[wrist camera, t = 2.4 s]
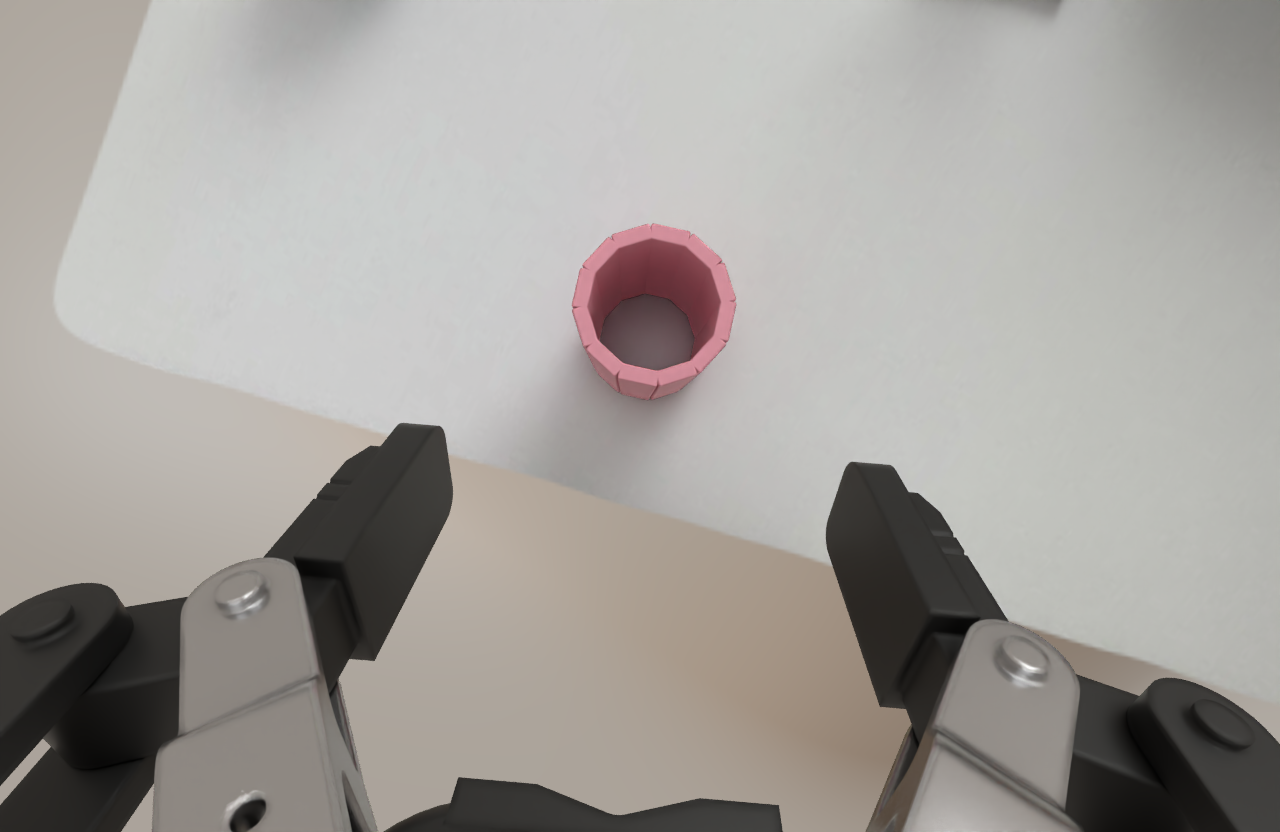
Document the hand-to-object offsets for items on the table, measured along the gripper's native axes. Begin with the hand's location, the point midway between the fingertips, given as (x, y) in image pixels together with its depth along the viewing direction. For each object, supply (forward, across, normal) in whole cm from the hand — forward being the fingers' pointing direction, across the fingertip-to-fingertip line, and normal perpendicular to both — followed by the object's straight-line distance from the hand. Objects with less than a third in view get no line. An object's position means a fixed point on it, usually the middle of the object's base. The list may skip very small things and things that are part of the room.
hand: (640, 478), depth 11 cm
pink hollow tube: (+17, 0, +5) cm, 18 cm away
